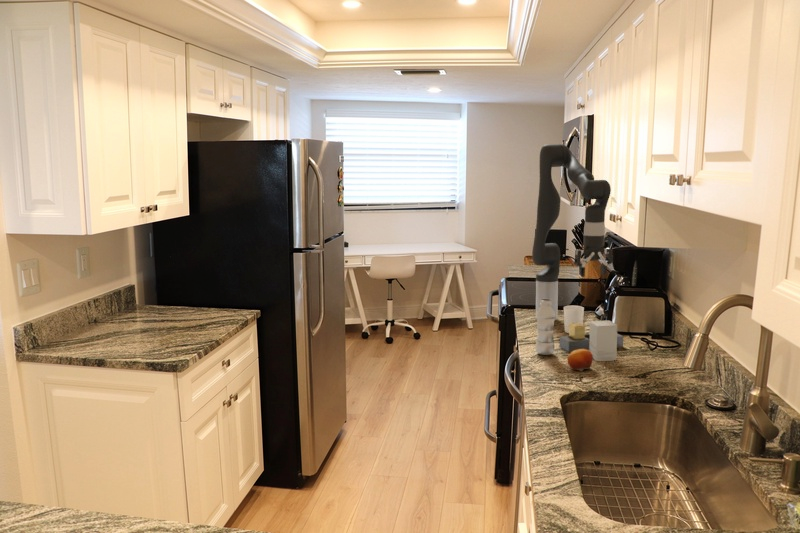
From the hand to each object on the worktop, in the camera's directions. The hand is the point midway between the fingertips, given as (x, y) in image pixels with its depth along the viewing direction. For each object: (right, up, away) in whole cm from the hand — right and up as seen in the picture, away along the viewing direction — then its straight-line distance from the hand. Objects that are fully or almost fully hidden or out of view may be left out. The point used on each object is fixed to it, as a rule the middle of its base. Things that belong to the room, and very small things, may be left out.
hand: (592, 275), depth 242 cm
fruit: (-13, -31, -30) cm, 45 cm away
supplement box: (-2, -29, -19) cm, 34 cm away
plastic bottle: (-21, -28, -13) cm, 38 cm away
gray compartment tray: (-2, -26, -6) cm, 27 cm away
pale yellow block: (-8, -26, -7) cm, 28 cm away
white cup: (-3, -23, +15) cm, 28 cm away
